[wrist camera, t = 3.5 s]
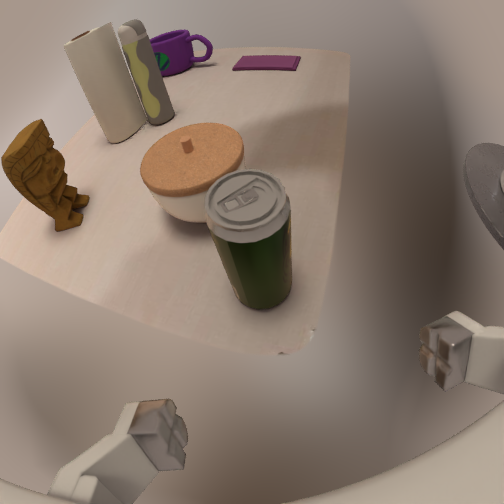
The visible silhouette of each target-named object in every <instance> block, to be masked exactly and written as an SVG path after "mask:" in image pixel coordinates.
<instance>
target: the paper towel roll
mask: <svg viewBox="0 0 504 504" xmlns="http://www.w3.org/2000/svg"><path fill="white" fill-rule="evenodd" d="M64 48H65V51H66V53H67V55H68V58H69V60H70V62H71V65H72V67H73V69H74V71H75V74H76V76H77V78H78V80H79V82H80V84H81V86H82V89H83V91H84V93H85V95H86V97H87V99H88V101H89V103H90V105H91V107H92V110H93V111H94V114H95V116H96V118H97V120H98V122H99V124H100V126H101V128H102V130H103V132H104V133H105V135H106V137H107V139H108V141H109V142H111V143H118V142H121V141H123V140H125V139H127V138H129V137H130V136H131V135H132V134H134V133H135V132H136V131H138V129H139V128H140V127H141V126H142V125H143V124H144V123H145V122H146V121H148V120H147V117H146V115H145V112H144V110H143V107H142V105H141V102H140V99H139V97H138V94H137V92H136V89H135V87H134V84H133V81H132V79H131V76H130V74H129V71H128V68H127V66H126V63H125V60H124V57H123V55H122V52H121V49H120V47H119V44H118V41H117V38H116V35H115V32H114V30H113V27H112V24H111V22H110V23H108V24H106V25H104V26H102V27H100V28H96V29H93V30H91V31H87V32H85V33H83V34H81V35H79V36H77V37H76V38H74V39H72V40H71V41H70V42H68V43H67V44H65V45H64Z"/></svg>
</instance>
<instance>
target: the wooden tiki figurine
mask: <svg viewBox="0 0 504 504" xmlns="http://www.w3.org/2000/svg"><path fill="white" fill-rule="evenodd" d="M49 135H50V134H49V132H48V130H47V128H46V126H45V124H44V122H43V120H42V119H40V120H36V121H34V122H32V123H31V124H29V125H28V126H27V127H25V128H24V129H23V130H22V131H21V132H19V134H18V135H17V136H16V138H15V139H14V140H13V142H12V143H11V144H10V145H9V147H8V149H7V150H6V152H5V153H4V155H3V156H2V166H3V169H4V172H5V174H6V176H7V177H8V179H9V180H10V182H11V183H12V185H13V186H14V187H15V188H16V189H17V190H18V191H19V192H20V193H21V194H22V195H23V196H24V197H25V198H26V199H27V200H28V201H30V202H31V203H32V204H33V205H35V206H36V207H38V208H39V209H41V210H42V211H44V212H45V213H46V214H47V215H49V216H51V217H52V218H54V219H55V230H56V231H57V232H58V231H62V230H66V229H69V228H73V227H76V226H80V225H81V223H82V219H83V215H82V214H80V213H77V212H74V211H72V209H76V208H79V207H83V206H86V205H87V203H88V201H89V196H88V195H81V194H77V188H76V187H72V186H69V185H66V183H67V174H66V173H65V172H64V166H65V160H64V158H63V156H62V154H61V153H60V152H59V151H58V150H56V149H54V148H53V145H54V141H53V140H52V138H50V137H49Z"/></svg>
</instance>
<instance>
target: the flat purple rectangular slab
mask: <svg viewBox="0 0 504 504" xmlns="http://www.w3.org/2000/svg"><path fill="white" fill-rule="evenodd" d="M300 58H301V57H300V56H279V55H262V56H243V57H242V58H241V59H240V60H239V61H238V62H237V63H236V65H235V66H234V67H233V69H232V70H233V71H234V70H291V71H296V69H297V66H298V63H299V61H300Z"/></svg>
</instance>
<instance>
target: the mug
mask: <svg viewBox="0 0 504 504" xmlns="http://www.w3.org/2000/svg"><path fill="white" fill-rule="evenodd" d="M193 40H200V41H201V42H202V43H204V44H205V45H206V47H207V52H206V55H205V56H203V57H194V53H193V47H192V42H191V41H193ZM150 43H151V46H152V49H153V52H154V55H155V58H156V61H157V64H158V67H159V70H160V73H161V76H169V75H173V74H177V73H180V72H182V71H184V70H186V69H188V68H189V67H191V66H192V64H193V62H204V61H206V60H208V59H209V58H210V57H211V55H212V51H213V47H212V44H211V42H210V41H209V40H207V39H206V38H205V37H203V36H201V35H197V34H196V35H192V36H190V33H189V31H188V30H176V31H171V32H168V33H164V34H161V35H159V36H157V37H154V38H152V39H150Z"/></svg>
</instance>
